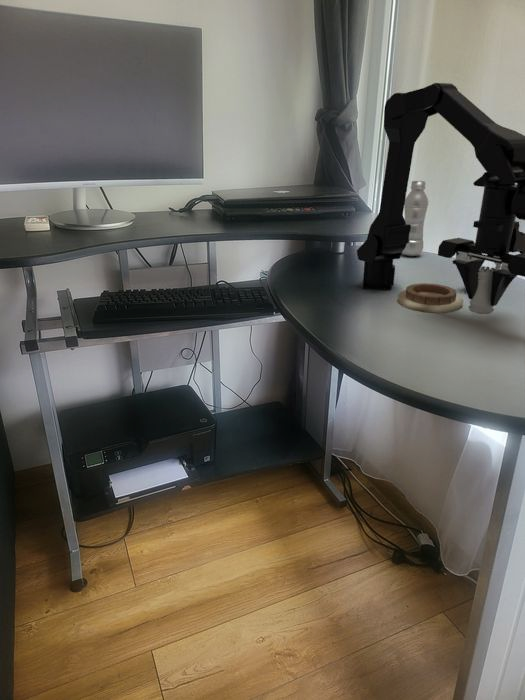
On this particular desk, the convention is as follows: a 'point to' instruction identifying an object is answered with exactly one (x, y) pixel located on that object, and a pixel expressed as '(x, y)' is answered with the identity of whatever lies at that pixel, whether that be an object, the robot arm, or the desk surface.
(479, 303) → the rook chess piece
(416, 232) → the plastic bottle
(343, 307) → the desk surface
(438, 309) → the well tray
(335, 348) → the desk surface
